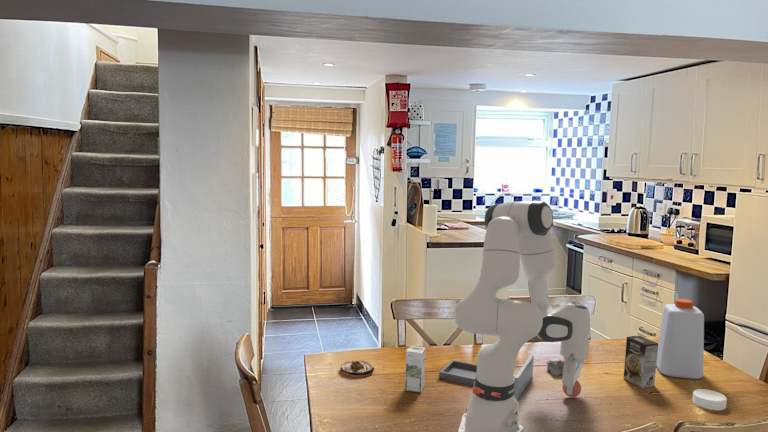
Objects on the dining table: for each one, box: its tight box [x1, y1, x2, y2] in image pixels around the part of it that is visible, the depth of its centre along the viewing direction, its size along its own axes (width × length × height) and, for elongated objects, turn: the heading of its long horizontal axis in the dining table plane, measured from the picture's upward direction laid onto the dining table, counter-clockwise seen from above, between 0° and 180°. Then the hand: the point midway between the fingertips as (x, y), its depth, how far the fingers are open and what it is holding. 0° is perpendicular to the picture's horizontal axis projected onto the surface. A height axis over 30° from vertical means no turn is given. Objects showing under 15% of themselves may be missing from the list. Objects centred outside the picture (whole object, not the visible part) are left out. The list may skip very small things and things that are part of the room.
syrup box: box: [404, 345, 426, 394], centre depth 198 cm, size 6×6×14 cm
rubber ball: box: [562, 379, 582, 398], centre depth 194 cm, size 6×6×6 cm
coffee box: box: [623, 335, 658, 389], centre depth 208 cm, size 9×6×16 cm
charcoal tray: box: [438, 359, 477, 387], centre depth 212 cm, size 14×14×2 cm
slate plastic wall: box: [514, 354, 534, 401], centre depth 202 cm, size 24×1×8 cm, turn 153°
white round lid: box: [692, 388, 728, 411], centre depth 192 cm, size 10×10×4 cm
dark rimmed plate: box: [340, 360, 375, 378], centre depth 213 cm, size 15×15×4 cm
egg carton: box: [545, 359, 566, 376], centre depth 218 cm, size 11×8×4 cm
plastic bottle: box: [656, 298, 705, 380], centre depth 219 cm, size 15×15×28 cm
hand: (571, 389), depth 194 cm, fingers closed on rubber ball, 6 cm apart
